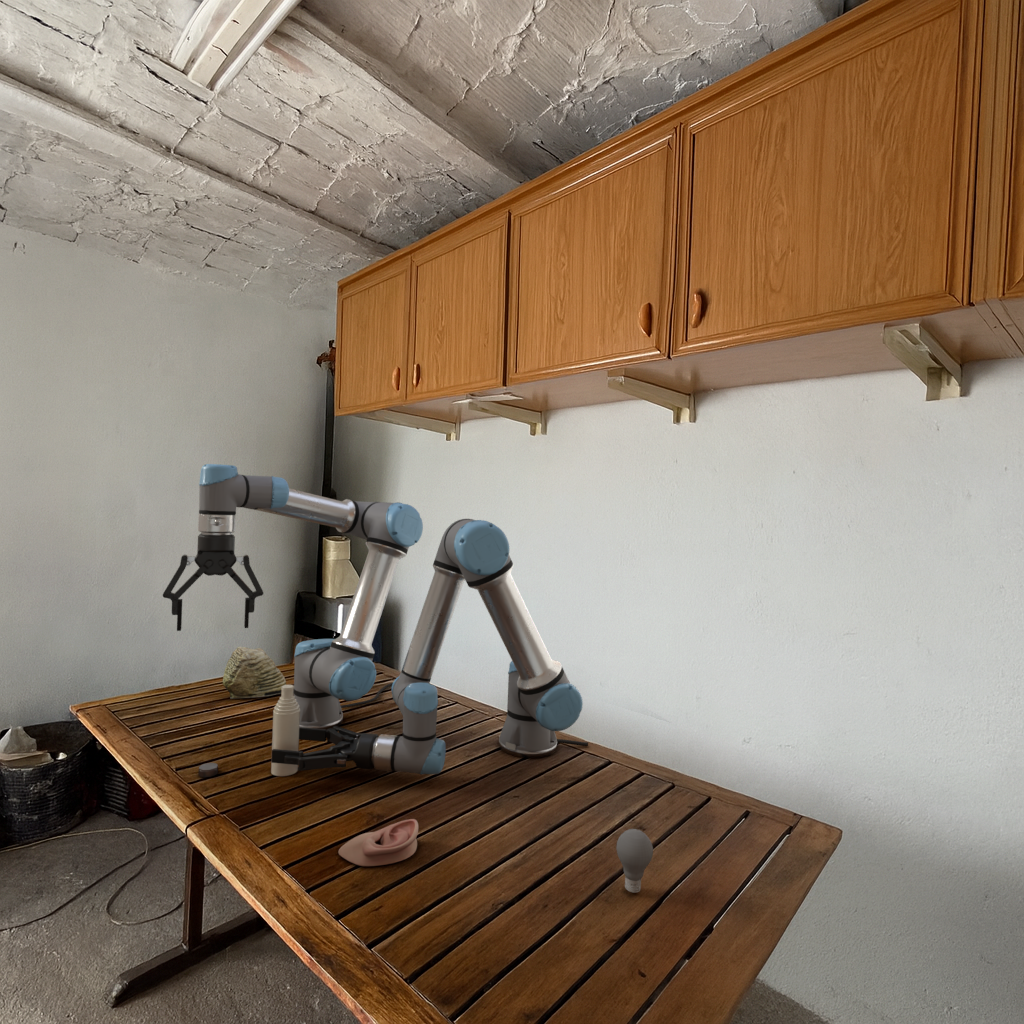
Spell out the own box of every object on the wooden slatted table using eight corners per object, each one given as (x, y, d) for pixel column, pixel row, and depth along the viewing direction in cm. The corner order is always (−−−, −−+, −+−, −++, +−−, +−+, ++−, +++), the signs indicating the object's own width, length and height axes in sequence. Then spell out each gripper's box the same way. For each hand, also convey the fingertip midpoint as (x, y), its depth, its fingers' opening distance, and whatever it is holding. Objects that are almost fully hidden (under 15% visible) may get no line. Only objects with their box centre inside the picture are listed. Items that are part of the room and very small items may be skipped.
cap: (206, 769, 144) (206, 761, 144) (221, 771, 144) (221, 763, 144) (194, 776, 141) (194, 768, 141) (210, 778, 140) (210, 770, 140)
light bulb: (610, 879, 108) (613, 822, 108) (644, 879, 109) (647, 822, 109) (619, 902, 102) (622, 840, 102) (655, 901, 103) (658, 840, 103)
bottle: (300, 765, 149) (304, 683, 148) (293, 776, 143) (297, 690, 142) (275, 765, 148) (278, 682, 148) (267, 776, 142) (270, 689, 142)
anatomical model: (330, 838, 110) (359, 807, 121) (329, 861, 110) (358, 828, 121) (402, 850, 107) (425, 817, 119) (401, 873, 108) (424, 838, 119)
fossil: (218, 695, 195) (220, 647, 195) (278, 685, 208) (279, 640, 207) (228, 703, 189) (230, 653, 188) (289, 692, 201) (290, 645, 201)
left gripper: (151, 533, 133) (147, 634, 133) (277, 535, 143) (274, 629, 144) (154, 531, 139) (151, 627, 140) (274, 533, 150) (271, 622, 150)
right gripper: (356, 793, 131) (259, 784, 133) (391, 747, 156) (308, 740, 158) (358, 757, 131) (260, 748, 133) (393, 716, 156) (309, 710, 158)
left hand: (213, 628), depth 142 cm, fingers open, 13 cm apart
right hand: (286, 744), depth 145 cm, fingers open, 13 cm apart
